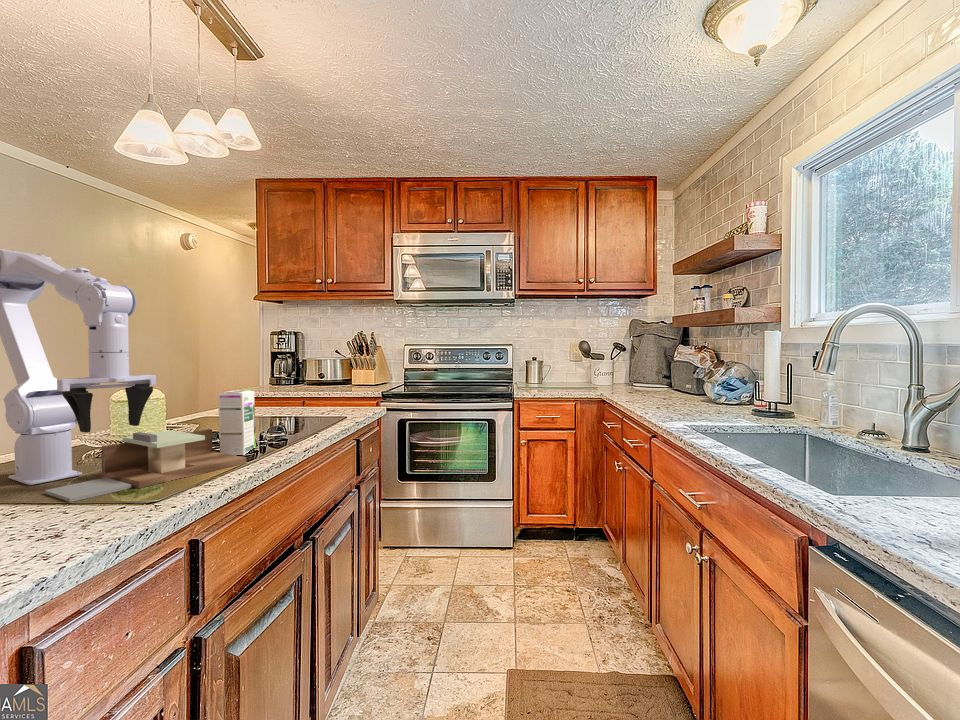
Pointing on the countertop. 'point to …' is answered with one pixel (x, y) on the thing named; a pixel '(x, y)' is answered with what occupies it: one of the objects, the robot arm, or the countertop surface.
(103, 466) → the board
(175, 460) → the block
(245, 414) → the syrup box
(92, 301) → the robot arm
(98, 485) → the mat
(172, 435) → the cover
